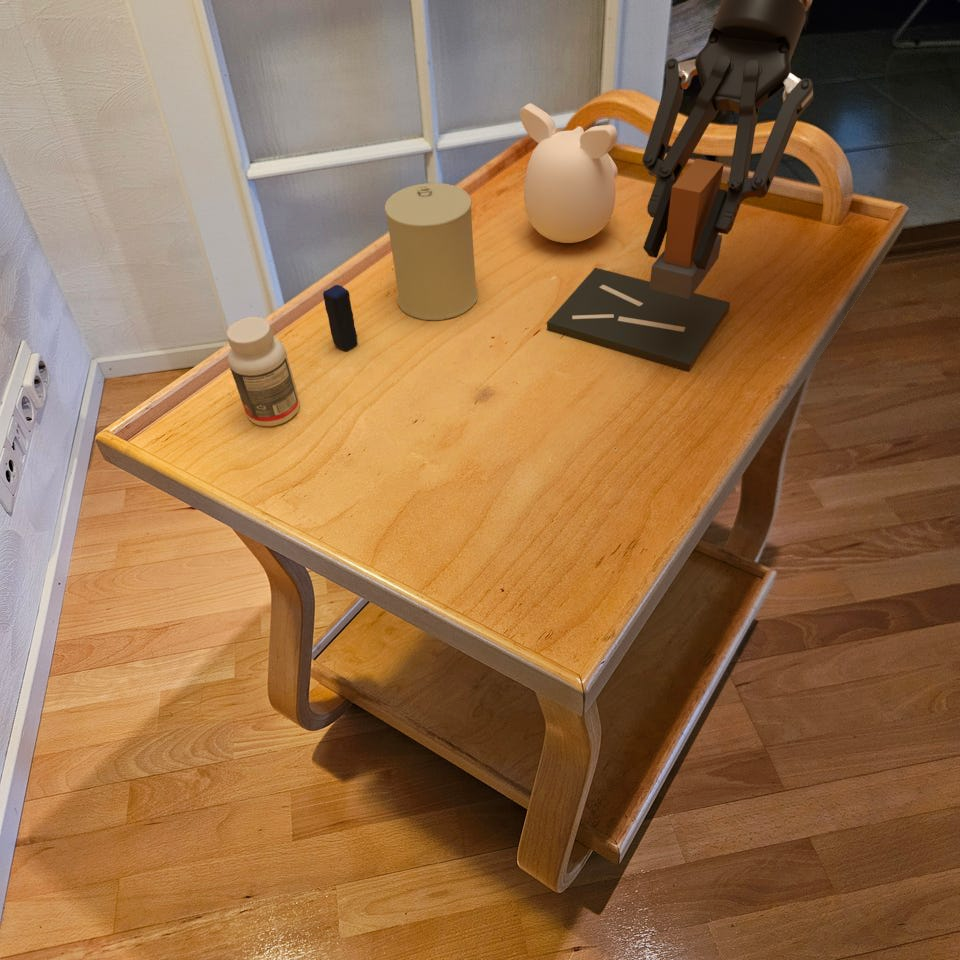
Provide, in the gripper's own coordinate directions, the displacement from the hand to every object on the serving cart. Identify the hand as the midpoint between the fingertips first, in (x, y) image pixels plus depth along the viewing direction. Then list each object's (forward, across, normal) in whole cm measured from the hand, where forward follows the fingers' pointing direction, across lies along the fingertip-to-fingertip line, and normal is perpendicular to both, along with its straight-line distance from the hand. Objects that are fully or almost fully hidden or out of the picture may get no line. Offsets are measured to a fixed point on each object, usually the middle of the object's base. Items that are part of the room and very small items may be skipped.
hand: (674, 258), depth 76 cm
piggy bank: (-5, +20, -22) cm, 30 cm away
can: (+9, +27, -8) cm, 30 cm away
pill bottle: (+26, +31, +9) cm, 41 cm away
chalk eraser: (0, 0, -5) cm, 5 cm away
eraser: (+17, +31, 0) cm, 35 cm away
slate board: (+4, +5, -12) cm, 14 cm away
